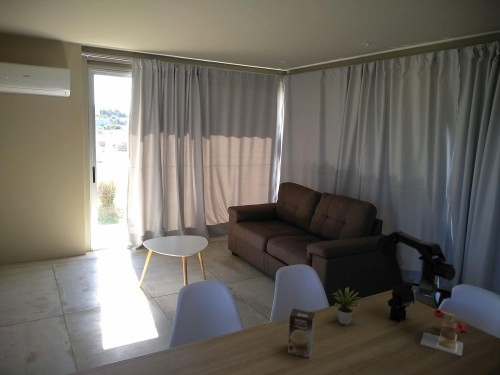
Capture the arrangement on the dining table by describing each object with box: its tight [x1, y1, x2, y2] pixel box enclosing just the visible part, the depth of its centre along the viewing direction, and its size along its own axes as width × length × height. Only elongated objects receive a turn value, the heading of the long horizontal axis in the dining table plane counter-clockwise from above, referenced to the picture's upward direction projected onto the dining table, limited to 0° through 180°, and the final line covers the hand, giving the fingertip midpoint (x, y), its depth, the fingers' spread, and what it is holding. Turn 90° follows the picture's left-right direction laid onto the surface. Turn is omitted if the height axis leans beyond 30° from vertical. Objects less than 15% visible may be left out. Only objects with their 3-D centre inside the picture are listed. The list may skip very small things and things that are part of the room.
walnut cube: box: [440, 319, 458, 340], centre depth 155 cm, size 5×5×5 cm
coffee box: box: [287, 308, 316, 358], centre depth 149 cm, size 9×6×16 cm
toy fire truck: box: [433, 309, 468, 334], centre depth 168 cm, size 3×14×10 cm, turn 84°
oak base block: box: [438, 331, 458, 350], centre depth 156 cm, size 6×6×4 cm
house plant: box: [331, 286, 364, 326], centre depth 173 cm, size 14×14×16 cm
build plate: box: [419, 332, 464, 356], centre depth 157 cm, size 15×11×1 cm
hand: (425, 306), depth 165 cm, fingers open, 9 cm apart
